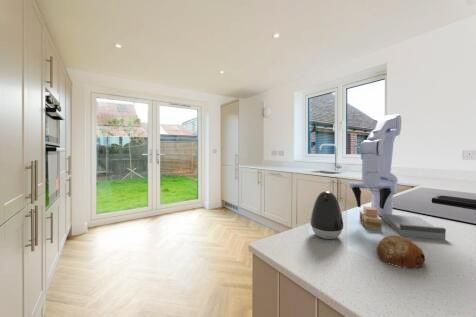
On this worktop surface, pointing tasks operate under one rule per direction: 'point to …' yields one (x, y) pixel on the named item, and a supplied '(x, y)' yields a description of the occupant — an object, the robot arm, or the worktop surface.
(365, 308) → the worktop surface
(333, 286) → the worktop surface
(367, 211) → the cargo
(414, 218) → the dock
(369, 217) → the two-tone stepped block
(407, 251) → the brown rounded lump
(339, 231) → the dark grey egg shape
